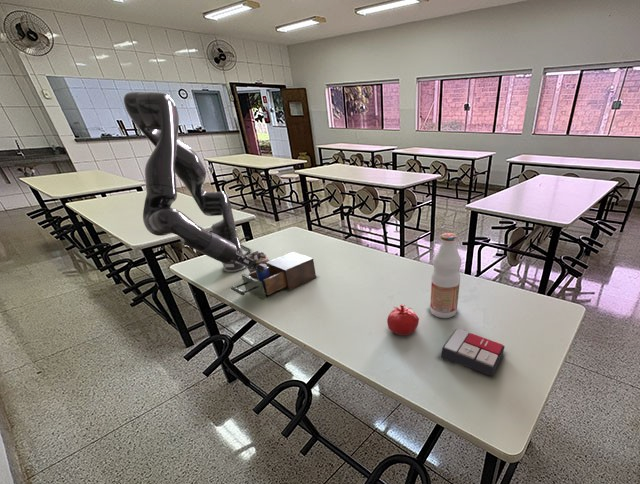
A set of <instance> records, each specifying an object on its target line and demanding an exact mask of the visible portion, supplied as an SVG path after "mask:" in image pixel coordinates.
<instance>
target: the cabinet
mask: <svg viewBox="0 0 640 484" xmlns="http://www.w3.org/2000/svg"><path fill="white" fill-rule="evenodd" d="M266 265H267V266H271V267H274V268H276V269H279V270H281V271H284V273H285V277H286V282H287V287H284V288H283V289H285V290H287V291H291V290H294V289H295V288H298V287H299V286H302V285H304V284H306V283H308V282H310V281H312V280H314V279H316V278H317V275H316V274H317V273H316V268H315V267H316V266H315V261H314V258H313V257H310V256H308V255H304V254H301V253H298V252H295V251H292V252H289V253H286V254H284V255H281V256H279V257H276V258H273V259H269V261H268V262H266Z"/></svg>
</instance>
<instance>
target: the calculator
mask: <svg viewBox="0 0 640 484" xmlns="http://www.w3.org/2000/svg"><path fill="white" fill-rule="evenodd" d="M504 351H505V345H504V344H503V343H499V342H496V341H495V340H491V339H488V338H485V337H483V336H481V335H477V334H475V333H471V332H468V331H465V330H462V329H460V328H456V329H454V331H453V332H452V334H451V335H450V337H448V339H447V341H446V342H445V343H444V344H443V346H442V348H441V354H440V357H441V359H444V360H445V361H448V362H451V363H457V364H459V365H462V366H464V367H467V368H470V369H471V370H474V371H477V372H480V373H482V374H484V375H487V376H489V377H493V375H494V374H495V371H496V370H497V368H498V365H499V364H500V363H499V362H500V361H501V359H502V356H503V355H504Z"/></svg>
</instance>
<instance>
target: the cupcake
mask: <svg viewBox="0 0 640 484" xmlns="http://www.w3.org/2000/svg"><path fill="white" fill-rule="evenodd" d="M247 257H249V258H251V260H253V261H255V262H257V263H258V264H266V262H268V261H270V259H269V258H268V257H267V254H266V253H265V252H262V251H261V252H260V251H259V250H256V251H253V252H250V253H249V254H248V255H247ZM246 269H247V270H248V272H249V273H252V272H254V271H256V270H254V269H252V268H250V267H246Z"/></svg>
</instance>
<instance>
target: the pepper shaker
mask: <svg viewBox="0 0 640 484" xmlns="http://www.w3.org/2000/svg"><path fill="white" fill-rule="evenodd" d="M259 265H261V266H263V267H265V269H264V271H263V272H259V271H257V270H256V274H257V278H258V280H259V281H261V282H262V284H263V288H264V290H265V285H264V281H263V280H264V279H266V278H269V277H270V275H269V271H268V267H267V265H266V264H259Z"/></svg>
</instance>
